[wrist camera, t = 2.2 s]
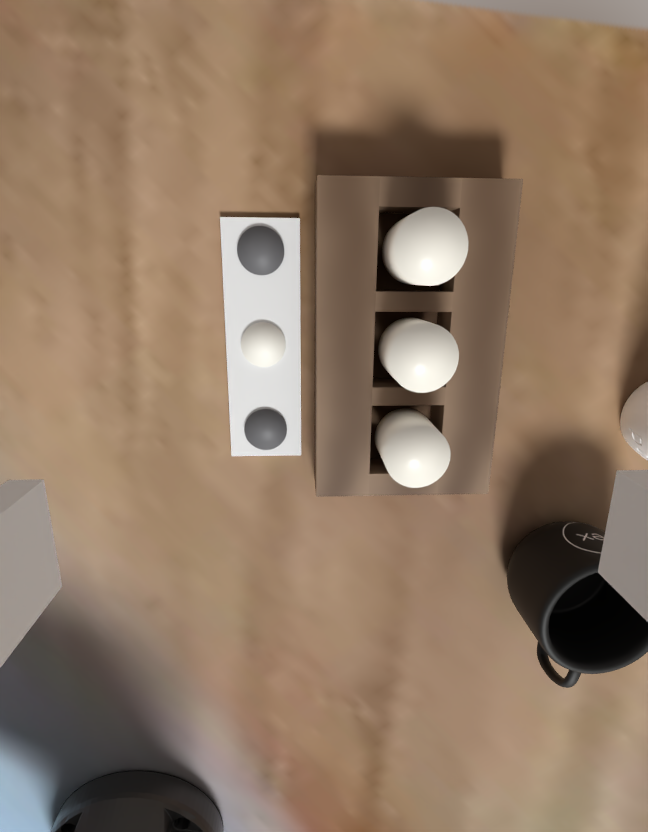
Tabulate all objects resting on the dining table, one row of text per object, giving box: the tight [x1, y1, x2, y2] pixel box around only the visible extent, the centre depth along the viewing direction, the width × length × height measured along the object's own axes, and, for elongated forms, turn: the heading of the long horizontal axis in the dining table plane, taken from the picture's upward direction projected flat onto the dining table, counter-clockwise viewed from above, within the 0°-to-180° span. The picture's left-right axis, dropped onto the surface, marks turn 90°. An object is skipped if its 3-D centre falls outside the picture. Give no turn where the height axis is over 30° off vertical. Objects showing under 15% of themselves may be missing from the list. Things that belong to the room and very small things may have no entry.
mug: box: [507, 521, 648, 688], centre depth 36 cm, size 12×9×7 cm
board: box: [315, 175, 523, 496], centre depth 32 cm, size 12×20×3 cm, turn 0°
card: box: [220, 217, 301, 456], centre depth 33 cm, size 5×16×1 cm, turn 0°
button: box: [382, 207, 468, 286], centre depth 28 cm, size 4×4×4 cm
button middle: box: [378, 317, 459, 393], centre depth 29 cm, size 4×4×4 cm
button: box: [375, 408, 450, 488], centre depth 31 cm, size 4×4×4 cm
